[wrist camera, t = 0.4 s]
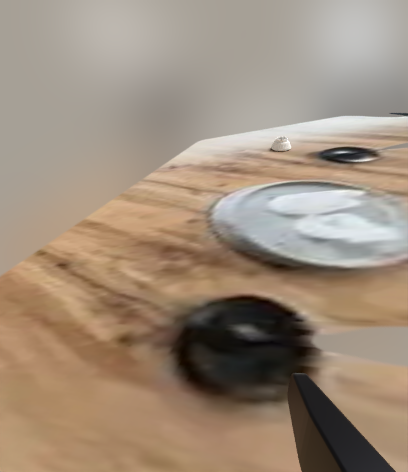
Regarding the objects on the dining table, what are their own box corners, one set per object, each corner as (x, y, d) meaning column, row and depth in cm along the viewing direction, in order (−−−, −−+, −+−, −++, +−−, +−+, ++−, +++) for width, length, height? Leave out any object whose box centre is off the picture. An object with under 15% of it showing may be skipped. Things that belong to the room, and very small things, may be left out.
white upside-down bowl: (276, 145, 80) (268, 150, 77) (277, 135, 79) (268, 139, 75) (293, 148, 77) (285, 153, 74) (294, 137, 76) (286, 141, 73)
